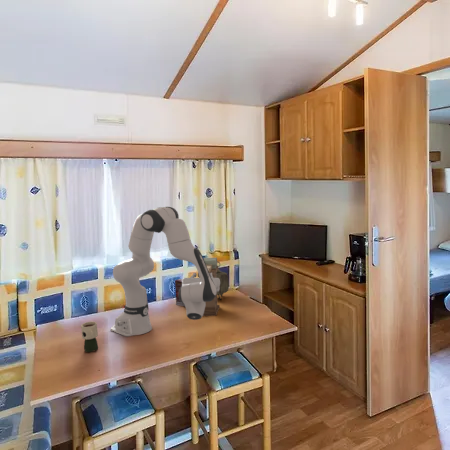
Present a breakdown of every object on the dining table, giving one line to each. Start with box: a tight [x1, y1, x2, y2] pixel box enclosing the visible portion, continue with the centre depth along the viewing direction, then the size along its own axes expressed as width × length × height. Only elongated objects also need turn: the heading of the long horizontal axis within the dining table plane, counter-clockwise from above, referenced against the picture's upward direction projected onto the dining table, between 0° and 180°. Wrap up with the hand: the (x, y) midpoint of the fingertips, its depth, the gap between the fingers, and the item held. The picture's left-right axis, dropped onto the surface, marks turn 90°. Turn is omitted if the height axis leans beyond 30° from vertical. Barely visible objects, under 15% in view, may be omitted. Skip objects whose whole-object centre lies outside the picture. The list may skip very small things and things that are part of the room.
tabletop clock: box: [216, 261, 230, 300], centre depth 246 cm, size 14×9×25 cm, turn 128°
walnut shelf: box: [197, 265, 220, 317], centre depth 222 cm, size 18×9×26 cm, turn 172°
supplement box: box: [174, 278, 185, 307], centre depth 238 cm, size 9×5×16 cm, turn 58°
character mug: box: [80, 321, 99, 353], centre depth 178 cm, size 11×7×13 cm, turn 32°
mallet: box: [198, 257, 218, 278], centre depth 216 cm, size 27×8×5 cm, turn 172°
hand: (203, 273), depth 205 cm, fingers open, 7 cm apart
